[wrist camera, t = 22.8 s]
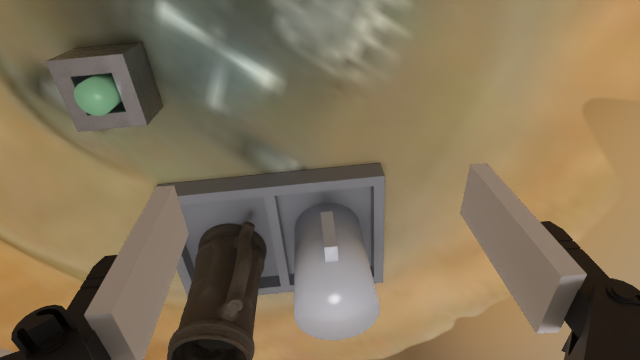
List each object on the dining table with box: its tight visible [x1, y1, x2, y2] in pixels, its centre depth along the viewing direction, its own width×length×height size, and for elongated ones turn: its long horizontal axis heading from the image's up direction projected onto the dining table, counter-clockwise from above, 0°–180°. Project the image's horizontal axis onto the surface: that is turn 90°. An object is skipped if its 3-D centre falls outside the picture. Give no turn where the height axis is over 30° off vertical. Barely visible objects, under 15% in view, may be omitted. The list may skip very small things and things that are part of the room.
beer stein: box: [167, 221, 267, 360], centre depth 50 cm, size 15×11×20 cm
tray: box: [157, 163, 385, 296], centre depth 58 cm, size 32×21×4 cm, turn 94°
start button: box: [74, 73, 122, 116], centre depth 42 cm, size 4×4×6 cm
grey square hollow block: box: [45, 42, 163, 132], centre depth 43 cm, size 8×8×6 cm
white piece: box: [294, 203, 380, 340], centre depth 51 cm, size 10×13×16 cm
